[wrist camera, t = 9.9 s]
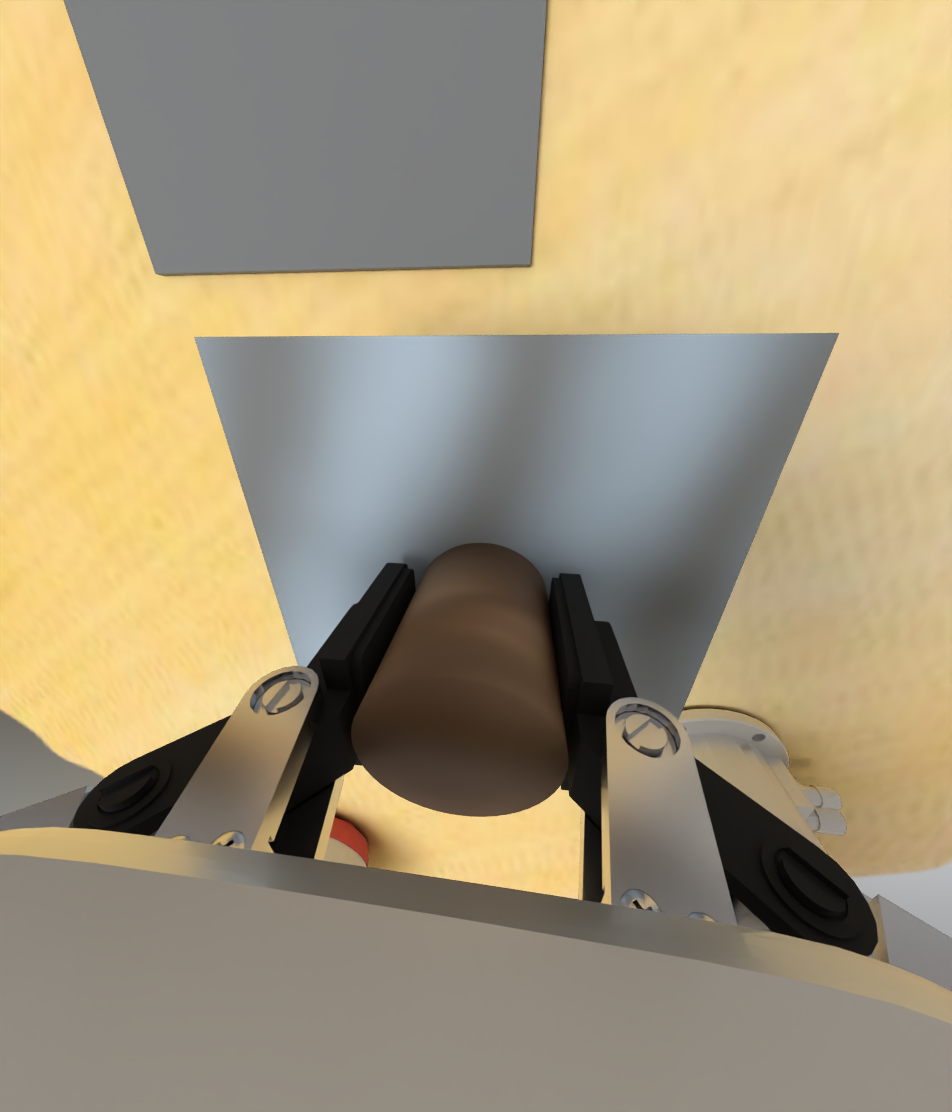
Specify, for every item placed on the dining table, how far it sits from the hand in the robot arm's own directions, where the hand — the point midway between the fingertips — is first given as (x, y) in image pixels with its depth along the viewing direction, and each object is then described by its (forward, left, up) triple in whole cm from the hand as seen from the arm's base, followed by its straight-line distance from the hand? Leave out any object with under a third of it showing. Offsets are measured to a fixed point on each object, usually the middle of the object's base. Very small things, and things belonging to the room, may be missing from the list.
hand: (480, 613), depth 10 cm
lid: (0, 0, -2) cm, 2 cm away
